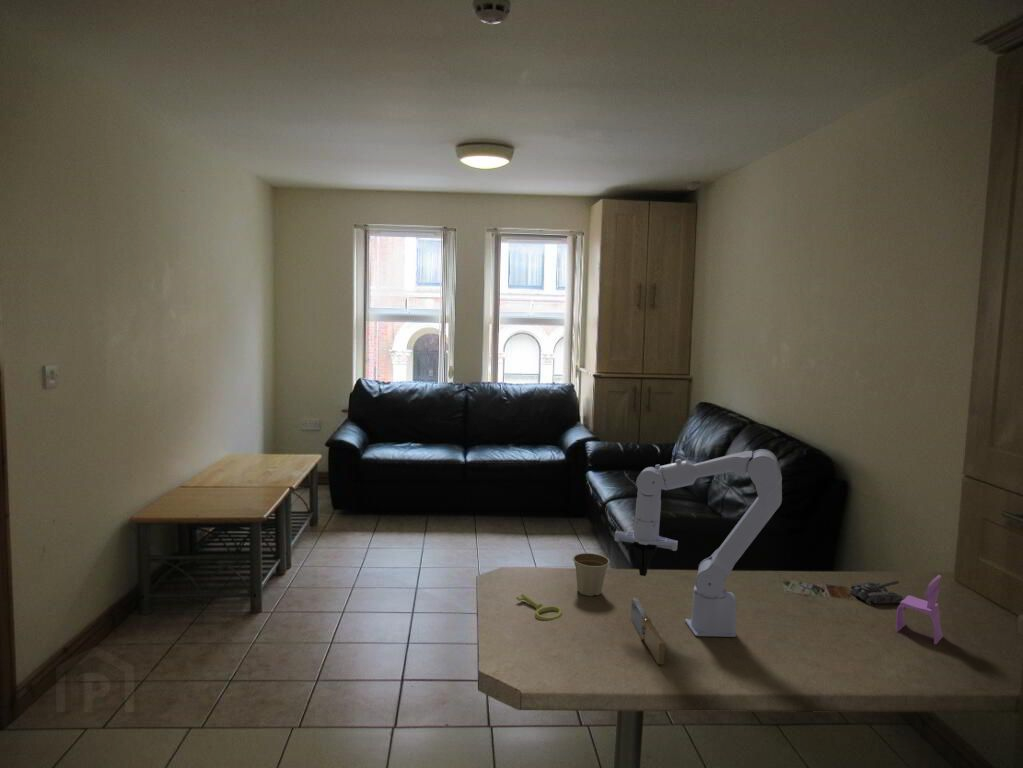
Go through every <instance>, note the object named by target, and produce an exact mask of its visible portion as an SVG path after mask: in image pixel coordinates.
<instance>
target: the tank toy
mask: <svg viewBox="0 0 1023 768" xmlns="http://www.w3.org/2000/svg"><path fill="white" fill-rule="evenodd" d="M898 584H900V581H899V580H897V579H895V580H891V581H888V582H885V583H879V582H869V581H867V582H855V583H853V584H851V587H850V590H849V593H850V594H851V595H853V596H855V597H858V598H860V599H861V600H862V601H865V603H866V604H867V605H870V606H874V605H875V606H877V605H878V606H879V605H880V606H881V605H900V602H901V601H902V600H904V599H905V598H904V597H903V596H902V595H901V594H899V593H895V592H894V591H889V590H888V589H887V587H890V586H893V585H894V586H895V585H898Z"/></svg>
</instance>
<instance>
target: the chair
mask: <svg viewBox="0 0 1023 768" xmlns="http://www.w3.org/2000/svg"><path fill="white" fill-rule="evenodd" d="M941 578H942V575H940V574H938V575H937V576H936V577H934V578H933V579H932V580H931V581H930V582H929V584H928V586H927V587H926V591H925V593H924V595H923V597H924V598H925V599H927V600H924V599H921V598H918V597H916V596H913V595H907V596H905V598H903V599H904V600H902V601H901V602H900V603H899V604H898V606H897V608H896V613H895V632H896V633H898V632H899V631H900V630H901V629H903V628H904V627H905V626H906V621H905V616H904V609H905V608H906V609H911V610H914V611H917V612H920V613H922V614H925V615H927V616H929V617H930V620H931V622H932V628H933V644H934V645H937V644H938V643H939V642H940V641H941V639H942V638H943V637H944V635H943V632H942V627H941V611H940V608H939V603H938V602H937V600H938V597H939V592H940V589H941V587H940V586H939V583H940V580H941ZM936 602H937V603H936Z"/></svg>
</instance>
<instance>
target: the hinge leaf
mask: <svg viewBox="0 0 1023 768" xmlns="http://www.w3.org/2000/svg"><path fill="white" fill-rule="evenodd" d="M642 628H645V633H642V632H641V636H640V640H641V641H643V642H644V644H645V645H646V647H647V649H648V650H649V652H650V654H651V655H652V657H653V658H654V660H655V663H656V664H657V665H664V664H665V653H666V652H665V651H666V642H665V641H664V639H663V638H662V636H661V635H660V634H659V632H658V630H657V629H656V627H655V626H654V624H653V622H652V619H651V618H650V617H648V618H647V617H644V618H642Z"/></svg>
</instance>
